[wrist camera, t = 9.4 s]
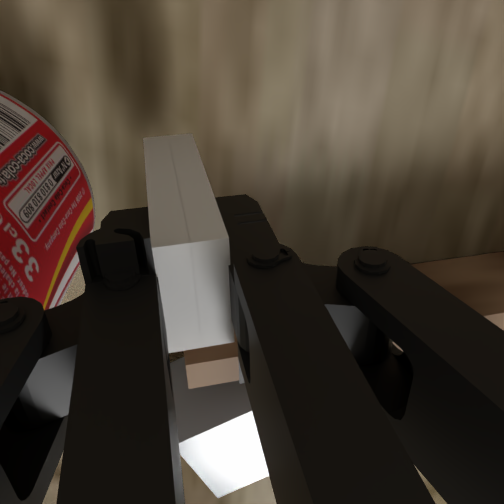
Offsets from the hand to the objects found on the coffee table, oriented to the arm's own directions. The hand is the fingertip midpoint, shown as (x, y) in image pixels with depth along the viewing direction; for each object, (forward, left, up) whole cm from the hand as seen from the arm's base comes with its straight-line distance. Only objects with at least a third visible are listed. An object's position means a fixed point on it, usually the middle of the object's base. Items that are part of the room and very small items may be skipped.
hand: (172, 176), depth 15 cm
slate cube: (+2, -11, -2) cm, 11 cm away
